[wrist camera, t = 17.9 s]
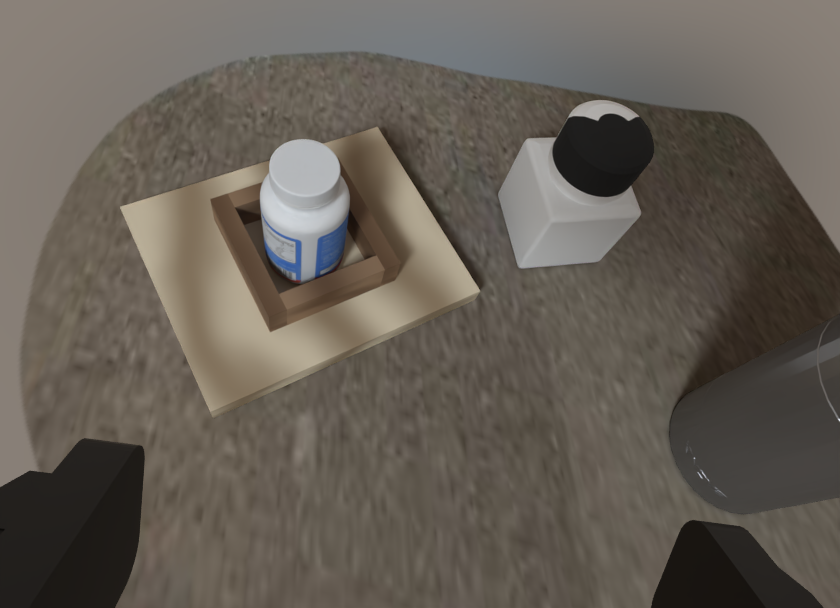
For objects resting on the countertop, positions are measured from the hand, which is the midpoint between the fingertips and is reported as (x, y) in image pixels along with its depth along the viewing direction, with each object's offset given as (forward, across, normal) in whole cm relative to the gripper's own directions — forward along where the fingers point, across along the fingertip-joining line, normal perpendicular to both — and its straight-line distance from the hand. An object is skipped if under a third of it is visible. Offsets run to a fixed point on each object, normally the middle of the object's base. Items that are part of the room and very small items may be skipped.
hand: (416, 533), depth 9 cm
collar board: (+36, +5, +7) cm, 37 cm away
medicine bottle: (+42, -14, +2) cm, 44 cm away
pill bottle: (+36, +5, +6) cm, 36 cm away
